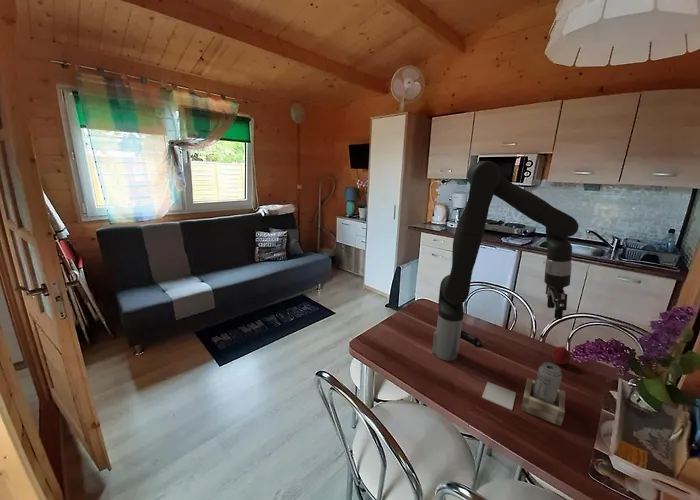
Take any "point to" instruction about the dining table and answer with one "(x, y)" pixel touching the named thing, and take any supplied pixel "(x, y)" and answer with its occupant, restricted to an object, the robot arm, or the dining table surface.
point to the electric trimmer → (471, 338)
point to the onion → (561, 355)
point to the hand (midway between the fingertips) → (554, 313)
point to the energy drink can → (547, 383)
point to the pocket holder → (543, 405)
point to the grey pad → (499, 395)
